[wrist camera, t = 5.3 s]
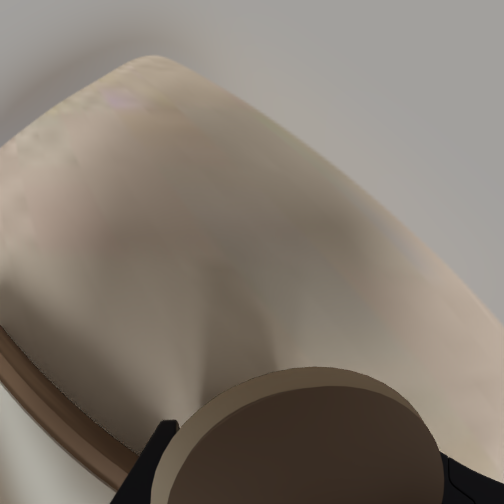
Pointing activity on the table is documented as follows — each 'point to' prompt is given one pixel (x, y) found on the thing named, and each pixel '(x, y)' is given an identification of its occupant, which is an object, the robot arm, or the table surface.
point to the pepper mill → (302, 445)
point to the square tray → (51, 441)
